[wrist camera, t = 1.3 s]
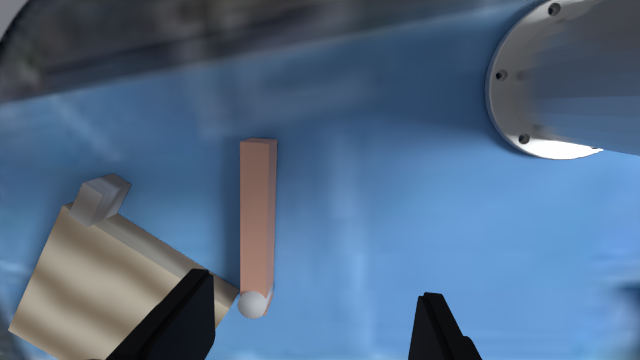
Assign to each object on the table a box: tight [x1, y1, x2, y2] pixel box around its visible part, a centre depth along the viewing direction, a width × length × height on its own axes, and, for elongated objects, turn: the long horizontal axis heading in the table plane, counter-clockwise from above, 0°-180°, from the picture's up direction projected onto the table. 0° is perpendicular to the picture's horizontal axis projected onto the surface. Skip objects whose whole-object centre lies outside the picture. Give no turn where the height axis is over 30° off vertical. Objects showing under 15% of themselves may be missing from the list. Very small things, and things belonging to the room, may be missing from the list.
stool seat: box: [8, 173, 240, 360], centre depth 31 cm, size 21×18×4 cm
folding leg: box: [238, 138, 277, 319], centre depth 28 cm, size 16×3×4 cm, turn 176°
